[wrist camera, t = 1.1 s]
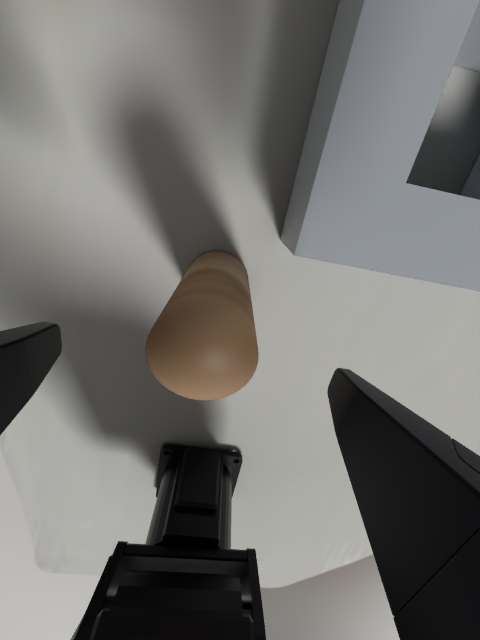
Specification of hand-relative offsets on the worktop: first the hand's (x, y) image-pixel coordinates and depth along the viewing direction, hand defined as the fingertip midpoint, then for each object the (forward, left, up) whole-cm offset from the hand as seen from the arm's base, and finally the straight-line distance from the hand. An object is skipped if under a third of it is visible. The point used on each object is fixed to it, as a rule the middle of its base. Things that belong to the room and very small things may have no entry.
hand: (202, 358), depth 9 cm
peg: (0, 0, -8) cm, 8 cm away
